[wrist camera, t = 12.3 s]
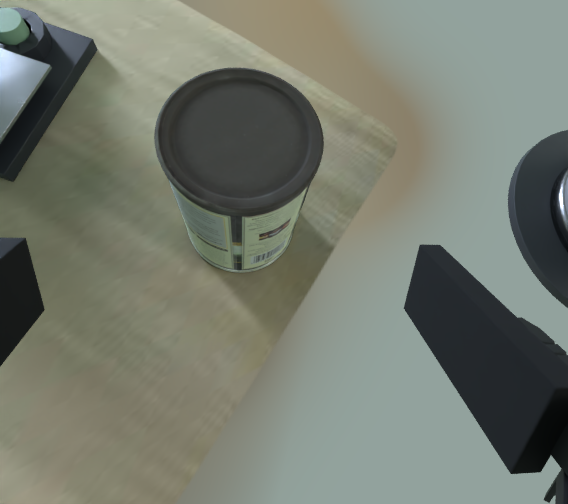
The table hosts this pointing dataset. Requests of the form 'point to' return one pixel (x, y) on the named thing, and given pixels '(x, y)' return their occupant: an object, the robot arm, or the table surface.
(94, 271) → the table surface
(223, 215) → the coffee can
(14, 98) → the pan
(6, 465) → the table surface
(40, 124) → the scale
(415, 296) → the robot arm
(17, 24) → the button
